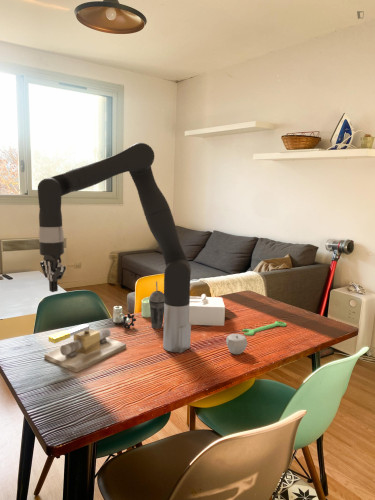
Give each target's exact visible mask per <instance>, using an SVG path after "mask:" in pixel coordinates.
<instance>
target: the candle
mask: <svg viewBox="0 0 375 500" xmlns="http://www.w3.org/2000/svg"><path fill="white" fill-rule="evenodd" d="M149 298H150V296H147V297H143V299H141V317H142V318H151V313H150V304H149Z"/></svg>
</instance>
